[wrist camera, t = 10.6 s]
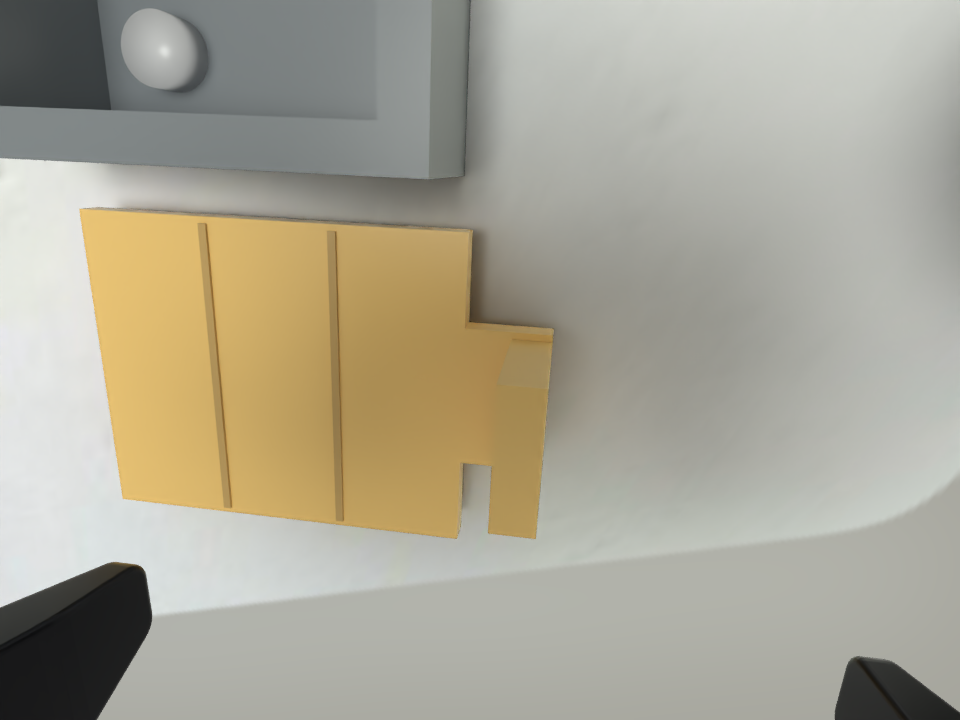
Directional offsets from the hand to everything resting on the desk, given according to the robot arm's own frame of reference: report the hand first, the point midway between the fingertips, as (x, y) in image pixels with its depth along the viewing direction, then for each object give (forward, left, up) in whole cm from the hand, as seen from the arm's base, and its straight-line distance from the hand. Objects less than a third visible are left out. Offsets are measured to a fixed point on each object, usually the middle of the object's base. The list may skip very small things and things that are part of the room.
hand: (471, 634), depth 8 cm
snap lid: (+7, +1, -13) cm, 15 cm away
